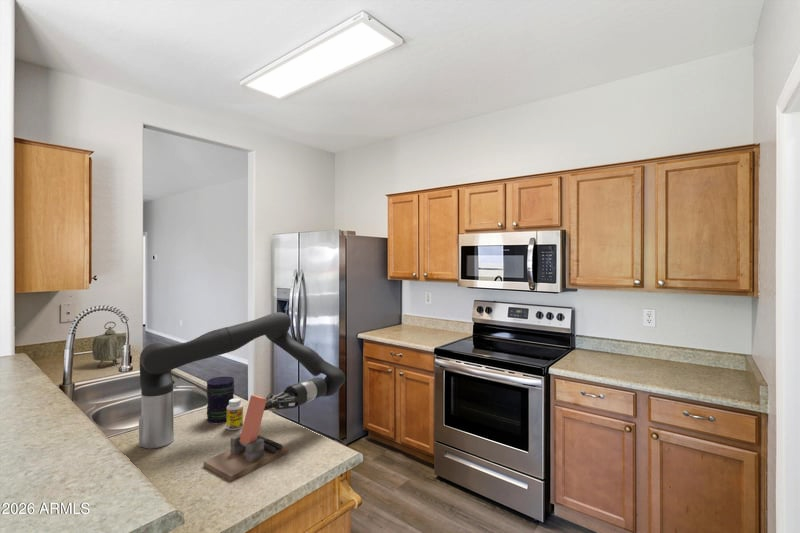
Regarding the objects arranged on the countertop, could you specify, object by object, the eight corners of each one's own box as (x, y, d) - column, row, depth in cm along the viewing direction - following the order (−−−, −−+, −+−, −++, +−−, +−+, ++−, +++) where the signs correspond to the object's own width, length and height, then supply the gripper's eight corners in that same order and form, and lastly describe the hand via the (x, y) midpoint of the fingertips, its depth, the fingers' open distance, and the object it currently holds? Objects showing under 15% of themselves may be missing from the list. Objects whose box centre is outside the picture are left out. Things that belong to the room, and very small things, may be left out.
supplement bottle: (228, 432, 143) (228, 403, 143) (225, 426, 148) (225, 399, 148) (244, 428, 146) (244, 400, 146) (241, 423, 151) (241, 396, 151)
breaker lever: (244, 444, 126) (257, 395, 130) (254, 448, 124) (266, 398, 127) (238, 444, 124) (250, 395, 128) (247, 449, 122) (260, 398, 125)
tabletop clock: (115, 361, 237) (115, 319, 236) (128, 362, 235) (128, 320, 234) (92, 368, 222) (91, 323, 222) (106, 369, 221) (105, 324, 220)
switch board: (260, 441, 137) (260, 422, 136) (287, 452, 129) (287, 432, 128) (203, 466, 120) (203, 444, 120) (231, 481, 112) (230, 458, 112)
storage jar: (207, 415, 158) (206, 378, 157) (234, 411, 162) (233, 375, 162) (206, 425, 149) (206, 385, 148) (235, 421, 153) (234, 382, 153)
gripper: (288, 379, 146) (246, 392, 131) (314, 386, 138) (273, 400, 124) (288, 400, 146) (246, 415, 131) (314, 407, 138) (273, 424, 124)
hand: (259, 408), depth 128 cm, fingers closed
